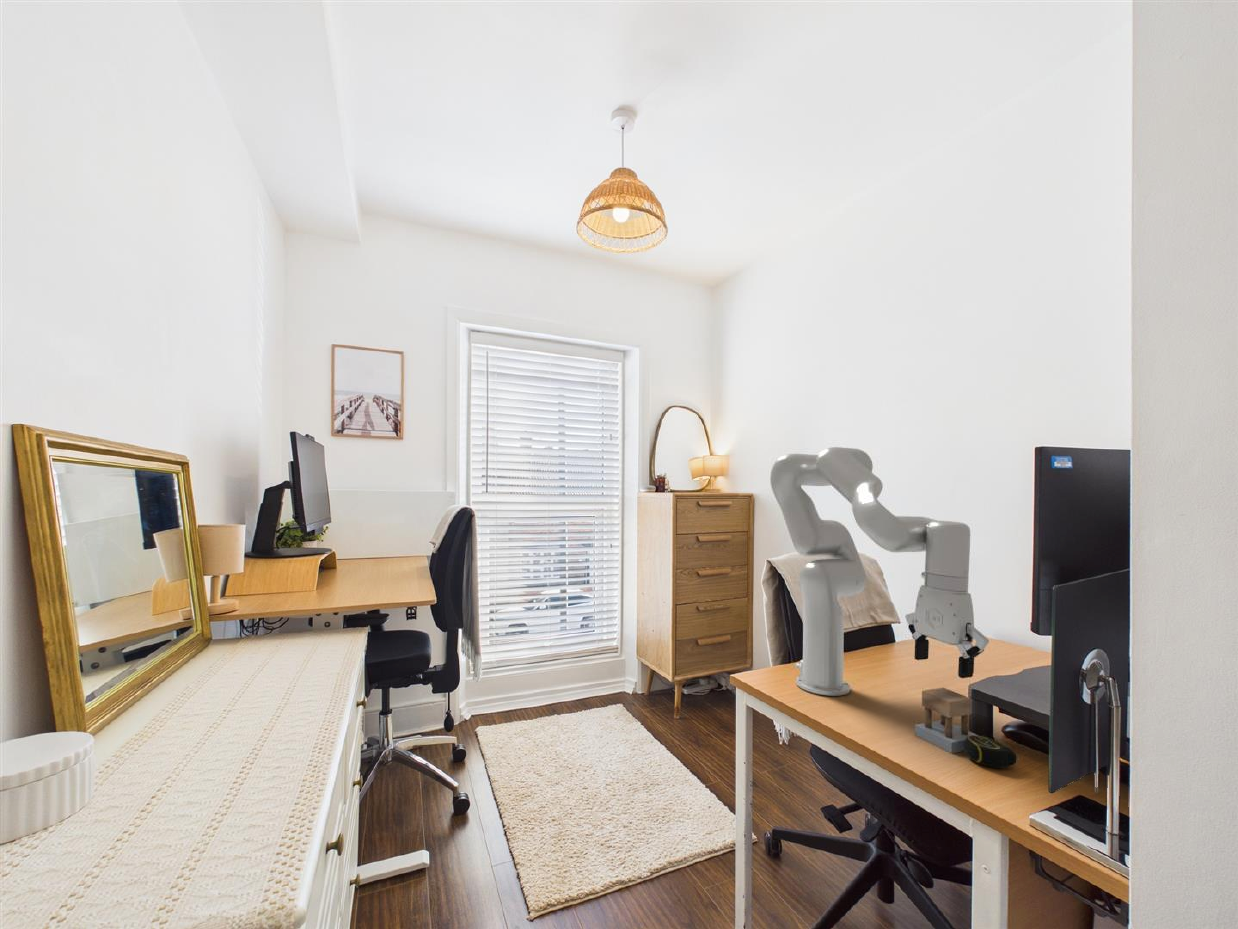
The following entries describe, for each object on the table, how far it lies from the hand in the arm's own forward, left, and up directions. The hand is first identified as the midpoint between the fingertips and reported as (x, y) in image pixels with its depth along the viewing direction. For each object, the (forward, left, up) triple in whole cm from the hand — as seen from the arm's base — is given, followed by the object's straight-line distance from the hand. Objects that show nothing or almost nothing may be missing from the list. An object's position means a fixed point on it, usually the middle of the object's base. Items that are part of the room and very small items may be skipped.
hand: (942, 667), depth 108 cm
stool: (+1, 0, -12) cm, 12 cm away
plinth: (+1, 0, -14) cm, 14 cm away
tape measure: (+9, 0, -14) cm, 17 cm away
